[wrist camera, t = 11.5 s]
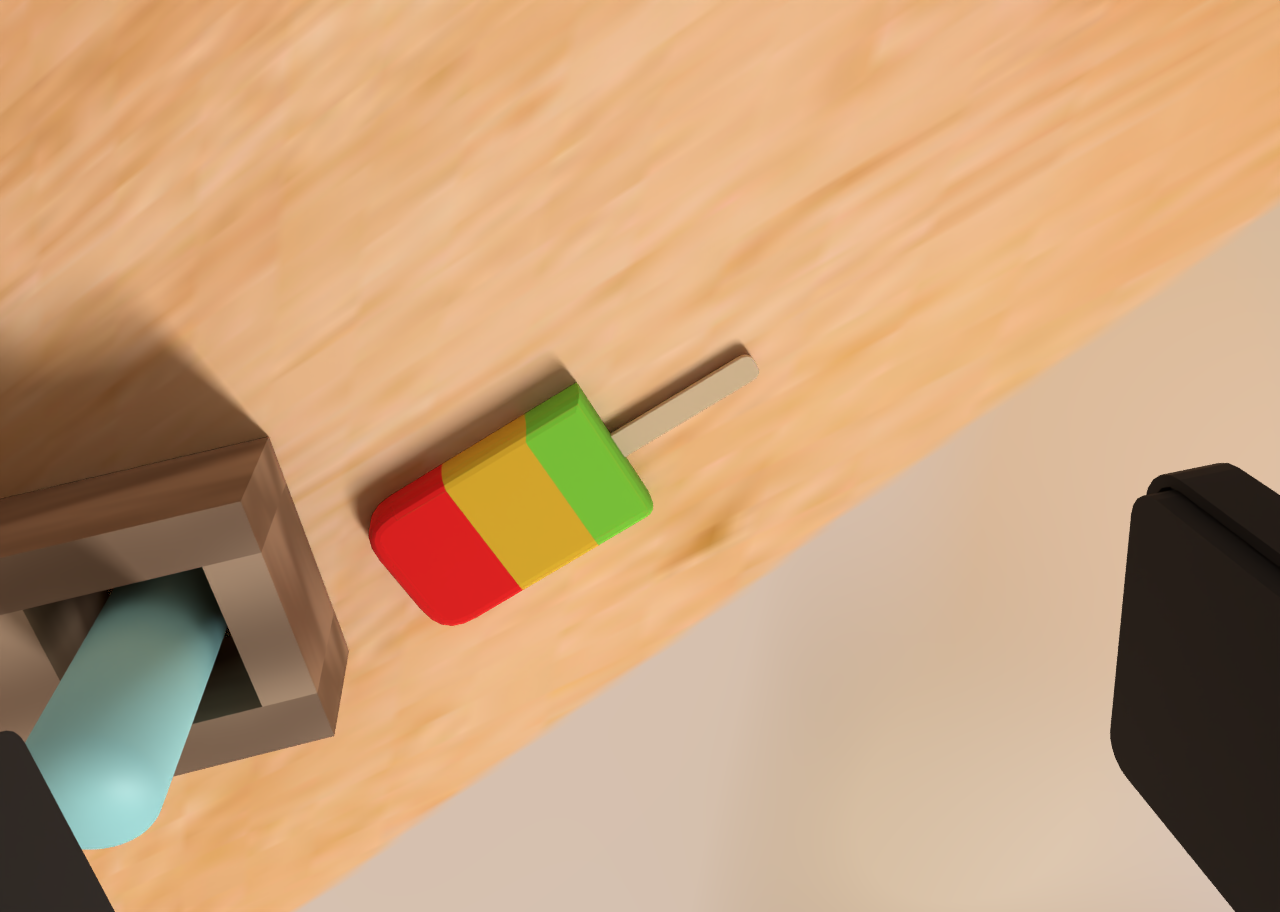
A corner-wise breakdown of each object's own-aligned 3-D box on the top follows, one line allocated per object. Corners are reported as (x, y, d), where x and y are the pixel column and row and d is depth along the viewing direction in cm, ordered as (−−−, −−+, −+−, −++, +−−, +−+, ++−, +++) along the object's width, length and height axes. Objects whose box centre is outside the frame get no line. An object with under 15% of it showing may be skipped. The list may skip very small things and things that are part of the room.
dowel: (109, 546, 36) (-22, 756, 26) (219, 520, 36) (130, 718, 27) (151, 635, 38) (43, 864, 28) (256, 610, 38) (185, 828, 28)
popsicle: (356, 509, 38) (351, 534, 36) (713, 291, 37) (726, 305, 35) (443, 615, 40) (443, 643, 38) (782, 413, 39) (797, 432, 37)
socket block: (-275, 562, 34) (-386, 649, 30) (268, 436, 36) (240, 501, 31) (-138, 770, 38) (-219, 874, 34) (348, 650, 39) (334, 735, 35)
